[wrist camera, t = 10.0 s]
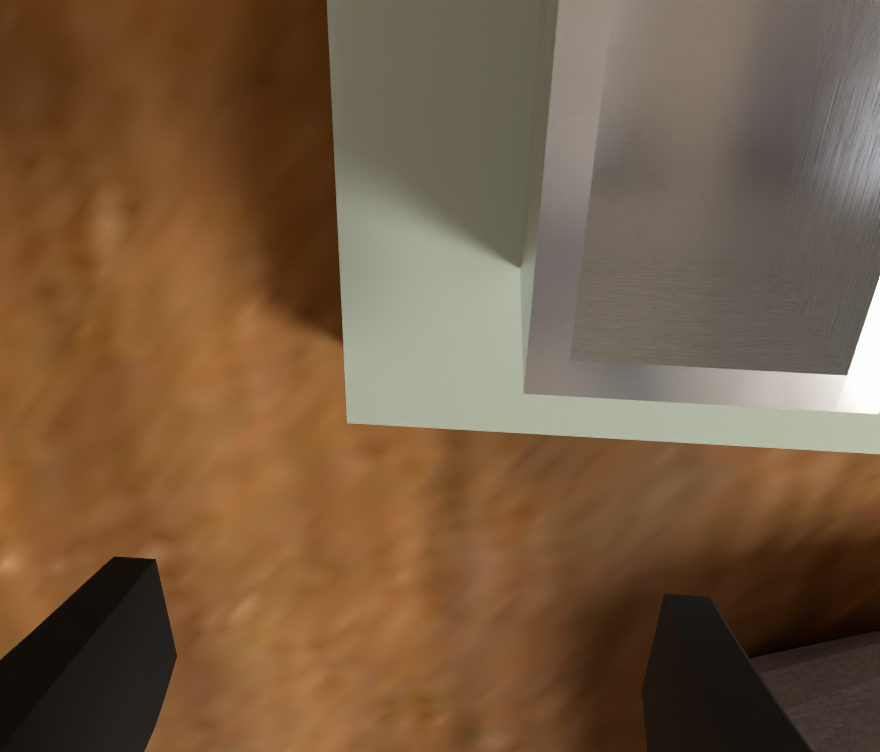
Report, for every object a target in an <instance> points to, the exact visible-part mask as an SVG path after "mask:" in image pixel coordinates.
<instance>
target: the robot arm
mask: <svg viewBox="0 0 880 752" xmlns="http://www.w3.org/2000/svg"><path fill="white" fill-rule="evenodd" d="M176 658H177V653H176V649H175V644H174V640H173V635H172V631H171V626H170V622H169V617H168V613H167V608H166V604H165V599H164V595H163V590H162V586H161V581H160V577H159V572H158V568H157V563H156V559H144V558H129V557H113V558H112V559H111V560H110V561H109V562H108V563H106V564H105V565H104V566H103V567H102V568H101V569H100V570H99V571H97V572H96V573H95V574H94V575H93V576H92V577H91V578H90V579H89V580H88V581H87V582H85V583H84V584H83V585H82V586H81V587H80V588H79V589H78V590H77V591H76V592H75V593H74V594H72V595H71V596H70V597H69V598H68V599H67V600H66V601H65V602H64V603H63V604H62V605H61V606H60V607H58V608H57V609H56V610H55V611H54V612H53V613H52V614H51V615H50V616H49V617H48V618H46V619H45V620H44V621H43V622H42V623H41V624H40V625H39V626H38V627H37V628H36V629H35V630H33V631H32V632H31V633H30V634H29V635H28V636H27V637H26V638H25V639H23V640H22V641H21V642H20V643H19V644H18V645H17V646H16V647H14V648H13V649H12V650H11V651H10V652H9V653H8V654H7V655H5V656H4V657H3V658H2V659H1V660H0V752H144V751H145V749H146V746H147V744H148V742H149V739H150V737H151V735H152V733H153V730H154V728H155V725H156V722H157V719H158V716H159V713H160V710H161V707H162V704H163V701H164V698H165V695H166V692H167V688H168V685H169V682H170V678H171V675H172V672H173V668H174V665H175V662H176ZM642 696H643V707H644V718H645V729H646V738H647V748H648V752H813V750H812V749H811V748H810V746H809V745H808V743H807V742H806V741H805V739H804V738H803V736H802V735H801V734H800V732H799V731H798V729H797V728H796V727H795V725H794V724H793V722H792V721H791V720H790V718H789V717H788V715H787V714H786V712H785V711H784V710H783V708H782V707H781V705H780V704H779V702H778V701H777V700H776V698H775V697H774V695H773V694H772V692H771V691H770V689H769V688H768V686H767V685H766V683H765V682H764V680H763V679H762V677H761V676H760V674H759V673H758V671H757V670H756V668H755V667H754V665H753V663H752V662H751V660H750V659H749V657H748V656H747V654H746V653H745V651H744V649H743V648H742V646H741V645H740V643H739V642H738V640H737V638H736V637H735V635H734V634H733V632H732V630H731V629H730V627H729V625H728V624H727V622H726V621H725V619H724V617H723V616H722V614H721V612H720V611H719V609H718V607H717V606H716V604H715V603H714V602H713V601H712V600H711V599H710V597H702V596H687V595H672V594H664V598H663V602H662V606H661V611H660V615H659V619H658V624H657V628H656V632H655V637H654V641H653V645H652V650H651V654H650V659H649V663H648V667H647V672H646V676H645V680H644V685H643V689H642Z"/></svg>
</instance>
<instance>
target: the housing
mask: <svg viewBox="0 0 880 752" xmlns="http://www.w3.org/2000/svg"><path fill="white" fill-rule="evenodd" d="M520 288H521V323H522V357H523V391H524V394H535V395H553V396H570V397H588V398H605V399H622V400H640V401H657V402H674V403H692V404H709V405H727V406H744V407H761V408H779V409H796V410H814V411H831V412H848V413H866V414H879V411H880V0H541V9H540V22H539V35H538V47H537V60H536V72H535V85H534V97H533V110H532V123H531V135H530V148H529V160H528V173H527V186H526V198H525V211H524V223H523V236H522V249H521V261H520Z"/></svg>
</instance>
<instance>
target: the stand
mask: <svg viewBox="0 0 880 752" xmlns="http://www.w3.org/2000/svg"><path fill="white" fill-rule="evenodd" d="M540 9H541V0H327V16H328V36H329V57H330V78H331V99H332V119H333V140H334V161H335V182H336V202H337V223H338V244H339V265H340V285H341V306H342V327H343V348H344V368H345V389H346V410H347V423H355V424H373V425H390V426H407V427H424V428H441V429H458V430H475V431H492V432H510V433H527V434H544V435H561V436H578V437H595V438H612V439H629V440H646V441H664V442H681V443H698V444H715V445H732V446H749V447H766V448H783V449H801V450H818V451H835V452H852V453H869V454H880V411H879V414H866V413H848V412H831V411H814V410H796V409H779V408H761V407H744V406H727V405H709V404H692V403H674V402H657V401H640V400H622V399H605V398H588V397H570V396H553V395H535V394H524V391H523V357H522V323H521V288H520V261H521V249H522V236H523V223H524V211H525V198H526V186H527V173H528V160H529V148H530V135H531V123H532V110H533V97H534V85H535V72H536V60H537V47H538V35H539V22H540Z"/></svg>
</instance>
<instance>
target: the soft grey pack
mask: <svg viewBox="0 0 880 752" xmlns="http://www.w3.org/2000/svg"><path fill="white" fill-rule="evenodd" d="M749 659H750V660H751V662H752V663H753V665H754V667H755V668H756V670H757V671H758V673H759V674H760V676H761V677H762V679H763V680H764V682H765V683H766V685H767V686H768V688H769V689H770V691H771V692H772V694H773V695H774V697H775V698H776V700H777V701H778V702H779V704H780V705H781V707H782V708H783V710H784V711H785V712H786V714H787V715H788V717H789V718H790V720H791V721H792V722H793V724H794V725H795V727H796V728H797V729H798V731H799V732H800V734H801V735H802V736H803V738H804V739H805V741H806V742H807V743H808V745H809V746H810V748H811V749H812V750H813V752H880V631H878V632H870V633H865V634H860V635H855V636H850V637H846V638H841V639H837V640H832V641H827V642H823V643H818V644H813V645H809V646H804V647H800V648H795V649H790V650H786V651H781V652H777V653H772V654H767V655H763V656H758V657H753V658H749Z"/></svg>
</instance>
